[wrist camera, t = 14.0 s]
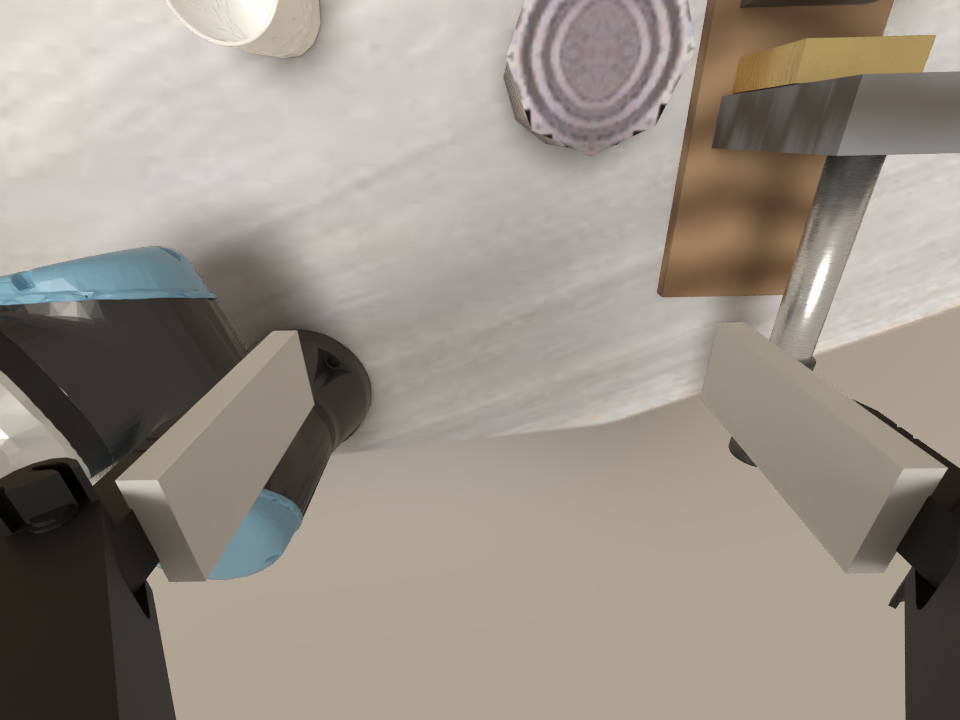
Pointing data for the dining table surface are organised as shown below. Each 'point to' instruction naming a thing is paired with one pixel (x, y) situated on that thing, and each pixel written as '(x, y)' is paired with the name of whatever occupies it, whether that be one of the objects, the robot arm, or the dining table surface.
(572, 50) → the can
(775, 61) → the collar
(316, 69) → the dining table surface
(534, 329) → the dining table surface
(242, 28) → the white cup
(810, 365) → the shaft
